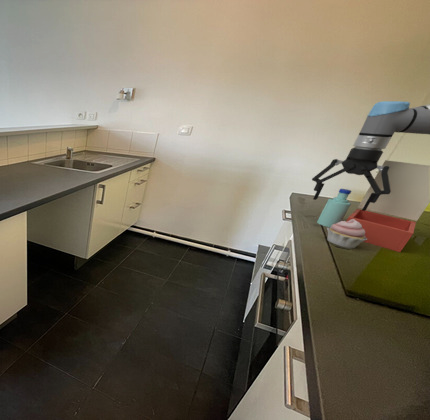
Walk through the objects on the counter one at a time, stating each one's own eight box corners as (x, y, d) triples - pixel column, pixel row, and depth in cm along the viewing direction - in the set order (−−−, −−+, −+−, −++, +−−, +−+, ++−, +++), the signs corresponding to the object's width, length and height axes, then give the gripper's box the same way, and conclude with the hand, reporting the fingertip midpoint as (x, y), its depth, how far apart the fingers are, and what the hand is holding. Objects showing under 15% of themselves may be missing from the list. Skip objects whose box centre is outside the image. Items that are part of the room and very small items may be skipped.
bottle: (334, 226, 99) (354, 189, 93) (338, 231, 95) (360, 193, 89) (314, 222, 103) (332, 186, 96) (317, 226, 98) (337, 189, 92)
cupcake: (315, 236, 90) (328, 211, 86) (349, 242, 86) (364, 217, 82) (328, 248, 82) (343, 221, 78) (366, 255, 78) (384, 228, 74)
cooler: (398, 254, 80) (413, 233, 77) (337, 236, 91) (348, 217, 87) (402, 241, 89) (416, 222, 86) (346, 226, 100) (357, 208, 97)
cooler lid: (452, 168, 79) (452, 168, 80) (385, 160, 90) (385, 160, 91) (416, 221, 86) (416, 220, 86) (357, 207, 97) (358, 207, 97)
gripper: (317, 144, 94) (294, 196, 102) (426, 155, 76) (387, 217, 84) (322, 143, 98) (299, 193, 106) (427, 153, 79) (389, 213, 88)
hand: (338, 204), depth 95 cm, fingers open, 12 cm apart
